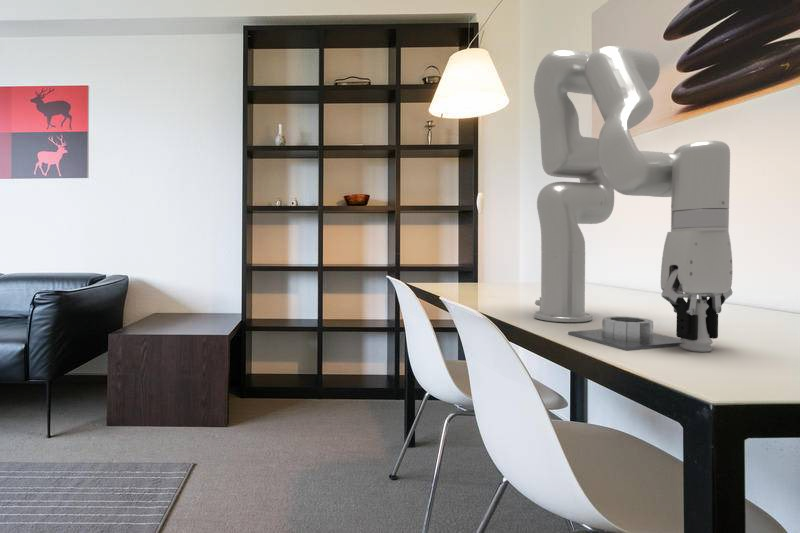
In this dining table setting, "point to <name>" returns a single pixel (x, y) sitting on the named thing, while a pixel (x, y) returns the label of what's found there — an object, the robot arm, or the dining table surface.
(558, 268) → the robot arm
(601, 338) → the socket
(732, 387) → the dining table surface
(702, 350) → the rook chess piece
